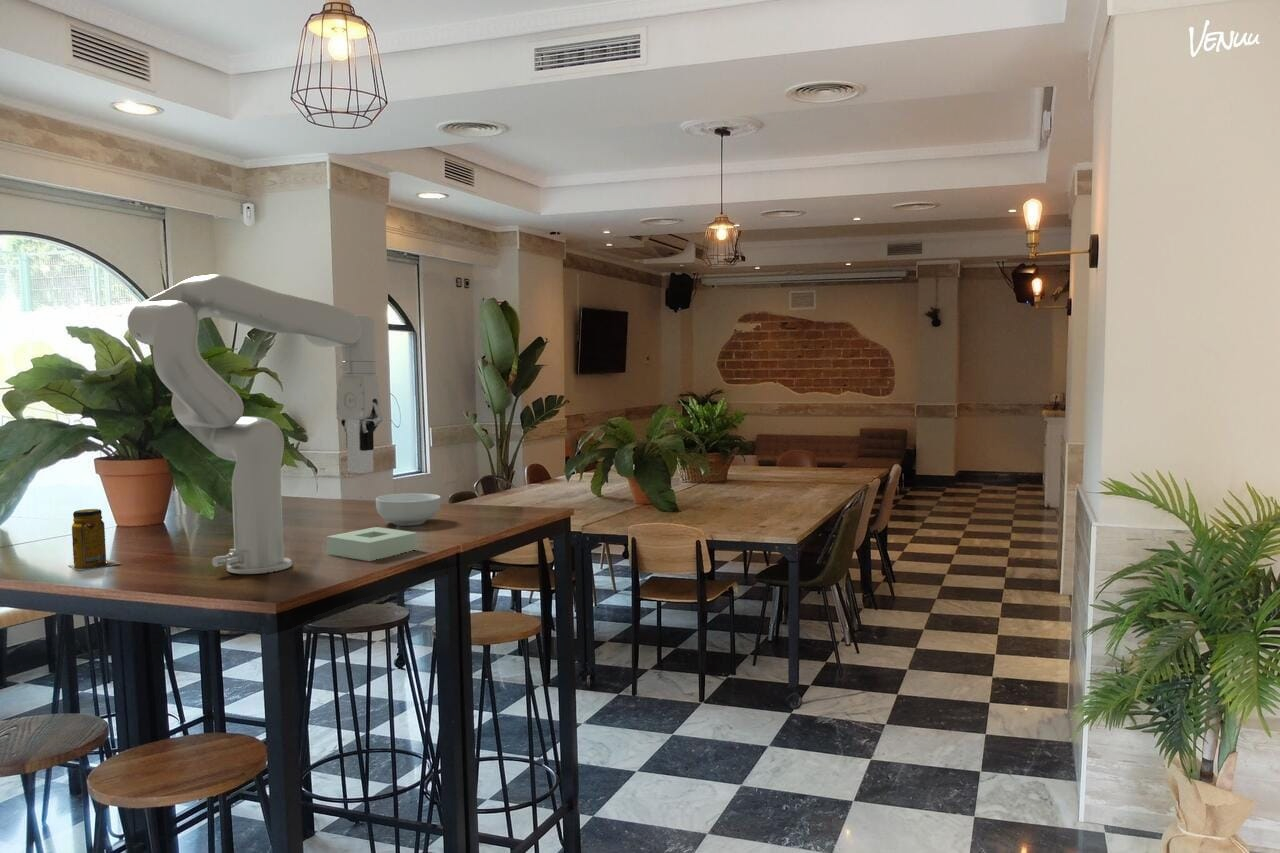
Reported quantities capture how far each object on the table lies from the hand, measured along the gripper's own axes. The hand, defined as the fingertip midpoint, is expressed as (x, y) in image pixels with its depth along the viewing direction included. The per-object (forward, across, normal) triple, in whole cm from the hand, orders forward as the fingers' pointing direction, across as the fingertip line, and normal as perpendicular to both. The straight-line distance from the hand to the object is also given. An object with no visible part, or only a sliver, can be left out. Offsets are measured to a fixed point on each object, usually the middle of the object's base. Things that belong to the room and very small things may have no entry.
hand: (360, 448), depth 219 cm
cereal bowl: (+23, -15, +30) cm, 41 cm away
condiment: (+24, -36, -41) cm, 60 cm away
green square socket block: (+23, +5, -2) cm, 24 cm away
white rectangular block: (+5, 0, 0) cm, 5 cm away
